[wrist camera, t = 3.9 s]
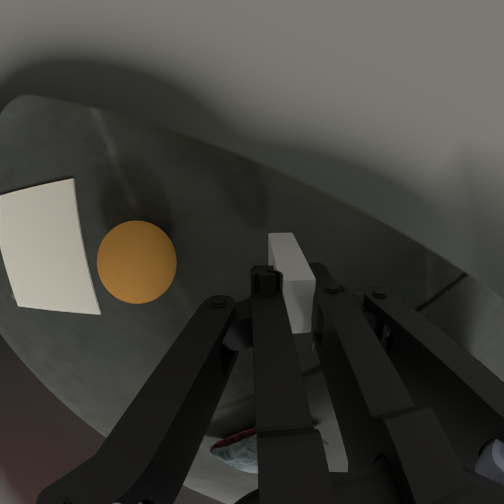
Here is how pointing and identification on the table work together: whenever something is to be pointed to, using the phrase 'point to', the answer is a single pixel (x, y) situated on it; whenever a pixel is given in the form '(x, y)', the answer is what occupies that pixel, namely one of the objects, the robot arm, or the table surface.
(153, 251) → the ball
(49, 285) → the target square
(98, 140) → the table surface
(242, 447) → the packaged food
